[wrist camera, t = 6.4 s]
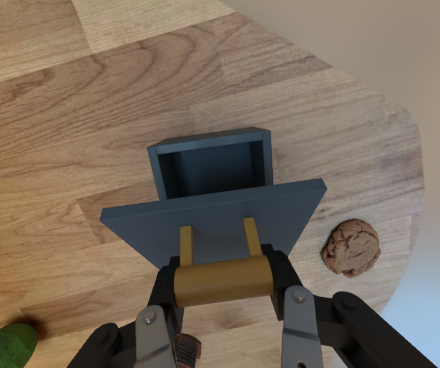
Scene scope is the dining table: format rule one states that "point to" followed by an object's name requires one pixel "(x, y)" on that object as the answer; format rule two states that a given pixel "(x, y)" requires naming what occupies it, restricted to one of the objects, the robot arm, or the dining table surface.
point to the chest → (212, 162)
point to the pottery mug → (187, 351)
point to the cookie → (352, 249)
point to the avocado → (17, 345)
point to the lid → (218, 237)
